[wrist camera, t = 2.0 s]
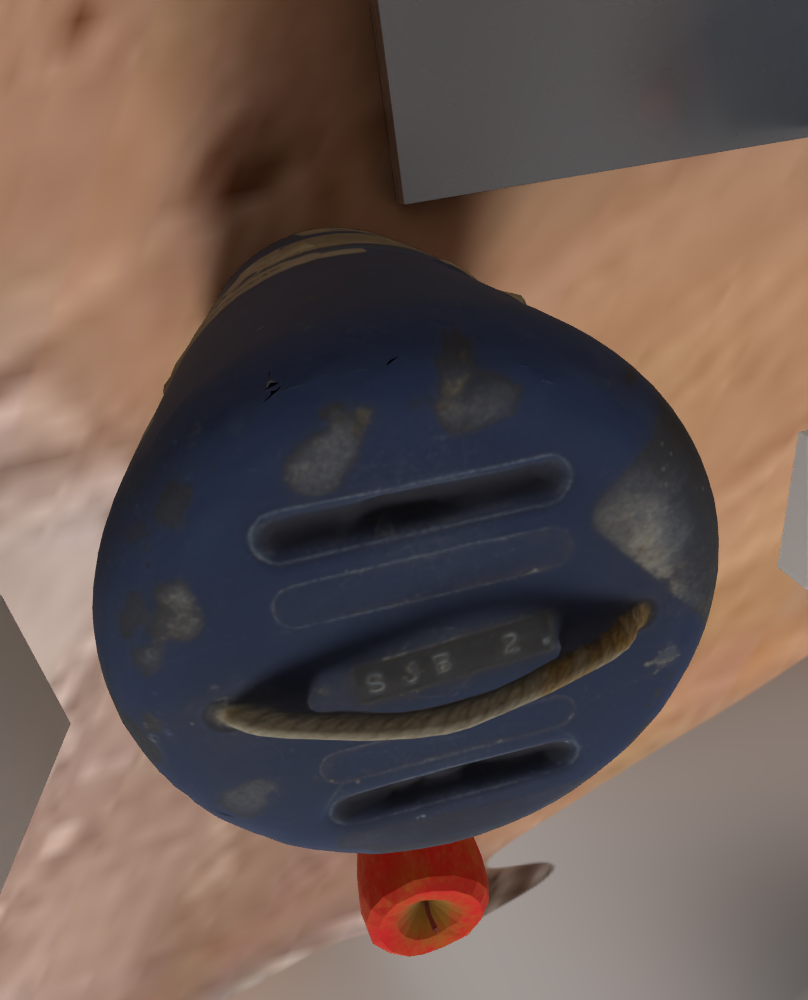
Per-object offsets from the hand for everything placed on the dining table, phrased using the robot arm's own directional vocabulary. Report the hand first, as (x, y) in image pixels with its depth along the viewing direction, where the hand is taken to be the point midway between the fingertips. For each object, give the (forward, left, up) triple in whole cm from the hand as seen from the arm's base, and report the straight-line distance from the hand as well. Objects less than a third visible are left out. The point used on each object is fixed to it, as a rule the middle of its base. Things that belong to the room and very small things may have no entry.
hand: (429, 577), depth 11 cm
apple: (-1, -24, -15) cm, 28 cm away
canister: (0, 0, -15) cm, 15 cm away
